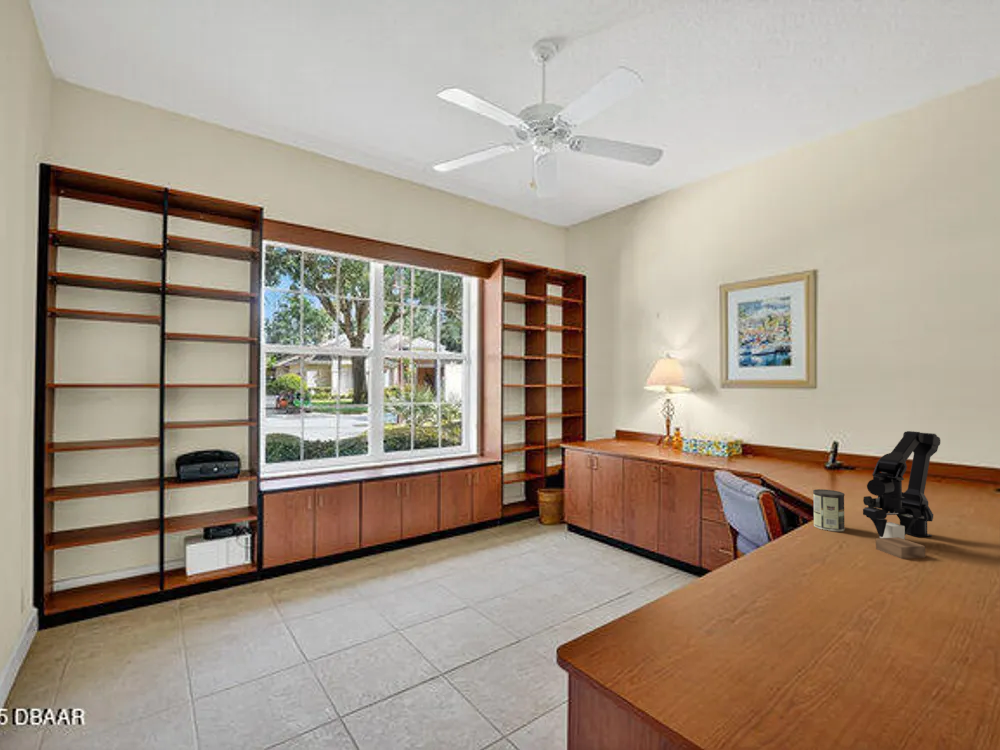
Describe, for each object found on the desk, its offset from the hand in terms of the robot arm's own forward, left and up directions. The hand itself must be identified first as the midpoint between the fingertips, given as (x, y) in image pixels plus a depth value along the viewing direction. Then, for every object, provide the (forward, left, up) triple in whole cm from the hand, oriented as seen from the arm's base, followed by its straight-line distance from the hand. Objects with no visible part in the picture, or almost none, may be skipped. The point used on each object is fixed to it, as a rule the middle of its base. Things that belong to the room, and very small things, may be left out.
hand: (892, 535), depth 172 cm
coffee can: (+10, -17, -2) cm, 20 cm away
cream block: (0, 0, -2) cm, 2 cm away
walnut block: (+10, +12, -2) cm, 15 cm away
